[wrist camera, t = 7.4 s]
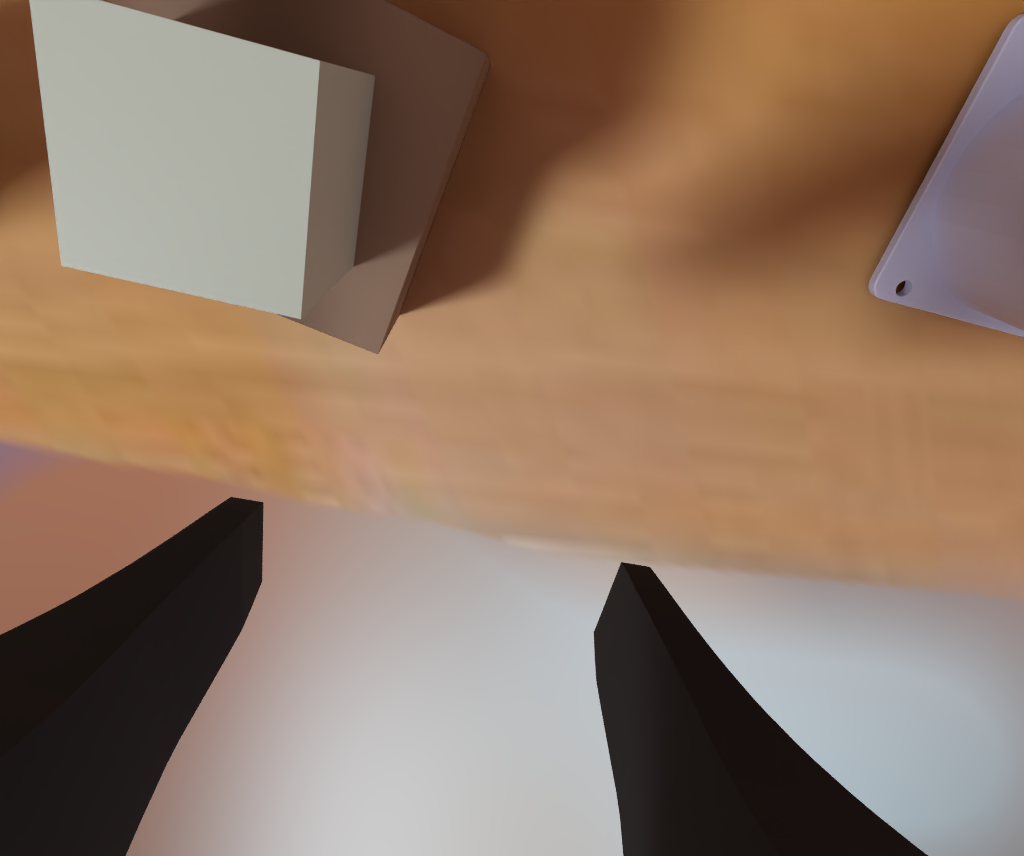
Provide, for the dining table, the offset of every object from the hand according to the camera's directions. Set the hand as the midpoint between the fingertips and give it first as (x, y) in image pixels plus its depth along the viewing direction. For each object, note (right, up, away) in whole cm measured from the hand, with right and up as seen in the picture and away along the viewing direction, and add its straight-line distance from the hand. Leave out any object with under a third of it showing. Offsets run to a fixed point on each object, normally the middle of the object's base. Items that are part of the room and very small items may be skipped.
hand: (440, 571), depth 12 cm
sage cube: (-4, +10, +2) cm, 11 cm away
